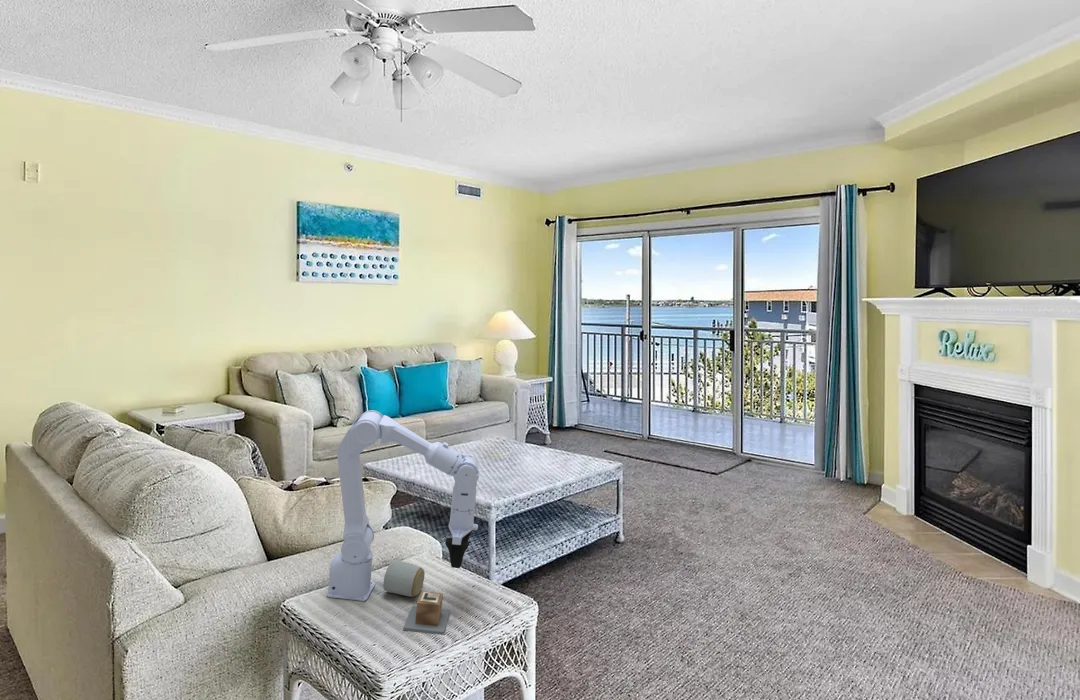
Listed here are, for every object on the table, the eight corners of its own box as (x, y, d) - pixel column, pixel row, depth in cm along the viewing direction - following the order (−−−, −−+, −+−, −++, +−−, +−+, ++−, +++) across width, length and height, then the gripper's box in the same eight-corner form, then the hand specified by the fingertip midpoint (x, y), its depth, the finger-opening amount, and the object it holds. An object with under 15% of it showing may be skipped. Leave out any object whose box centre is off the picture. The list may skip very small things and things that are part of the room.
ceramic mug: (413, 603, 149) (416, 573, 148) (381, 597, 150) (384, 566, 149) (429, 583, 159) (431, 554, 158) (399, 577, 161) (401, 548, 160)
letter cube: (415, 623, 140) (417, 601, 139) (419, 611, 145) (421, 589, 144) (437, 625, 140) (439, 603, 139) (441, 613, 145) (443, 592, 144)
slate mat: (403, 630, 138) (403, 627, 138) (412, 608, 147) (412, 605, 147) (443, 634, 138) (443, 631, 138) (450, 612, 147) (450, 609, 147)
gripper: (475, 520, 144) (470, 575, 146) (482, 497, 159) (477, 548, 160) (445, 517, 144) (440, 572, 146) (455, 494, 159) (450, 545, 160)
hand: (458, 559), depth 153 cm, fingers open, 7 cm apart
